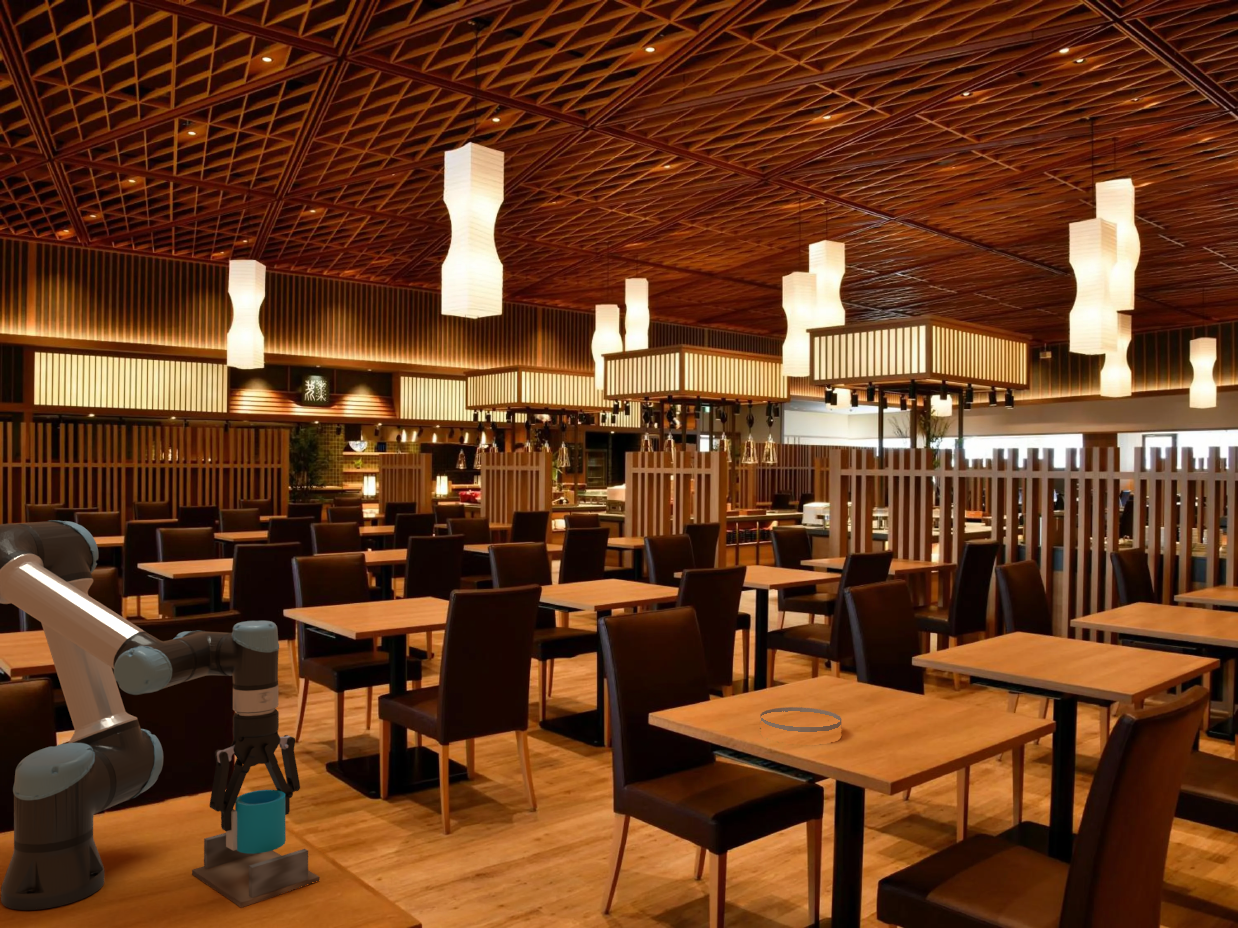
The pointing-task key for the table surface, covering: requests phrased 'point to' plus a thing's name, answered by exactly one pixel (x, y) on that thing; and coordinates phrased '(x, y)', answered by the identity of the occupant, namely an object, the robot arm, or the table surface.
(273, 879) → the holder
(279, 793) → the mug
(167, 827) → the table surface
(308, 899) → the table surface
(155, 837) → the table surface
